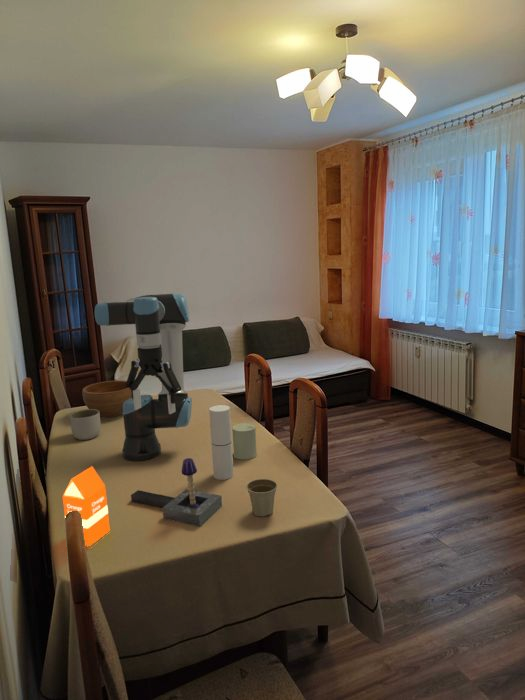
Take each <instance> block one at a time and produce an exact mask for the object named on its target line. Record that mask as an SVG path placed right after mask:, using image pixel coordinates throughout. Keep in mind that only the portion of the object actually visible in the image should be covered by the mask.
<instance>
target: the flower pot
mask: <svg viewBox="0 0 525 700" xmlns="http://www.w3.org/2000/svg"><path fill="white" fill-rule="evenodd" d="M245 487H246V490H247V492H248V494H249V497H250V498H249V499H250V503H251V504H250V505H251V509H252V513H253V514H254V515H255V516H258V517H266V516H270V515H272V514H273V513H274V505H275V495H276V491H277V488H278V483H277V482H276V481H275V480H273V479H269V478H258V479H257V478H256V479H253V480H251V481H249V482H247V484H246V486H245Z"/></svg>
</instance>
